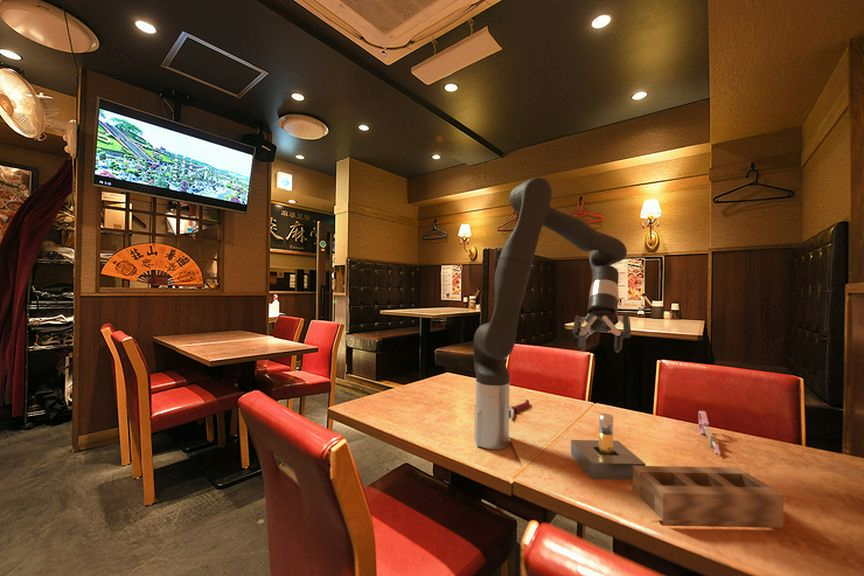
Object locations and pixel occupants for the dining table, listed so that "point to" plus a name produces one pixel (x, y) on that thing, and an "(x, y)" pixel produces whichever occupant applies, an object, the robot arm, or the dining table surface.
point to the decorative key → (707, 430)
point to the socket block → (605, 460)
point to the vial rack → (708, 496)
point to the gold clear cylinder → (605, 434)
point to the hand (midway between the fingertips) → (599, 350)
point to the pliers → (518, 408)
